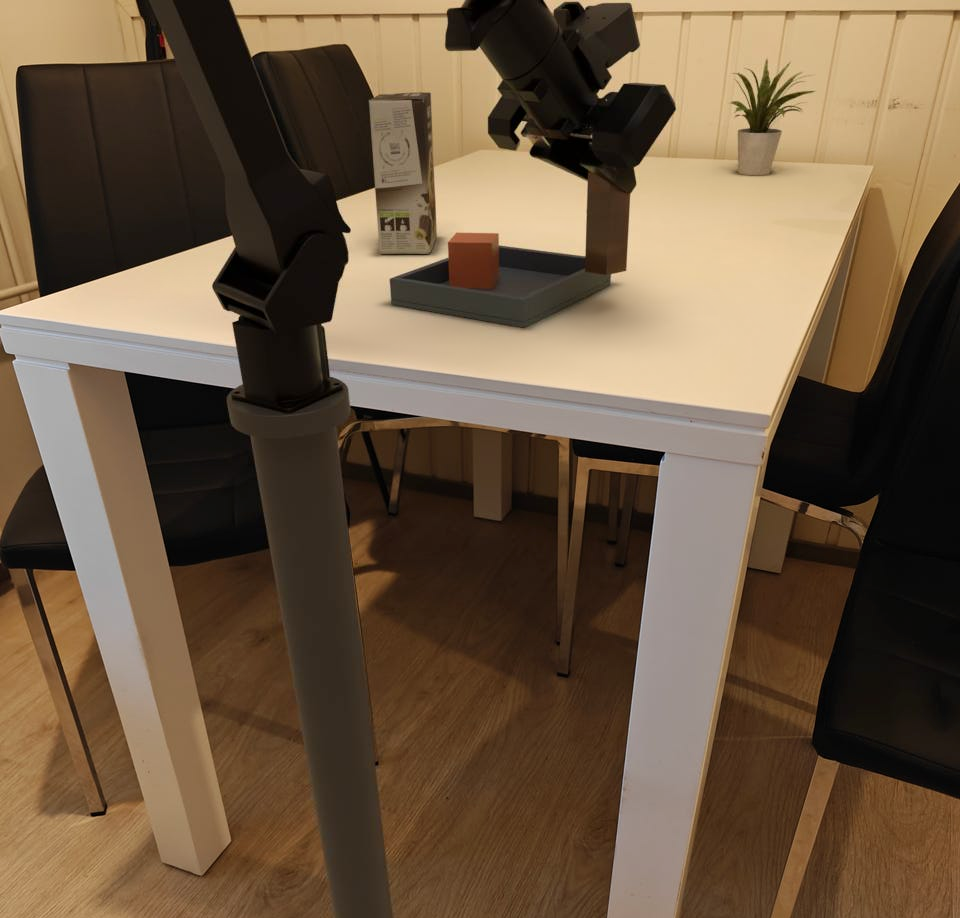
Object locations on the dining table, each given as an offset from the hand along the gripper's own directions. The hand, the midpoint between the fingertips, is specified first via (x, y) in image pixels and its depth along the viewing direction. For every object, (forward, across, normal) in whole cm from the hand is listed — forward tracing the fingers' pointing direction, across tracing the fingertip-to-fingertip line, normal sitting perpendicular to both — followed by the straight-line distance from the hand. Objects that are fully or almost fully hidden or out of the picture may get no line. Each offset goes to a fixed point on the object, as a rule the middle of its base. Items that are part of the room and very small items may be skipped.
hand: (620, 187), depth 84 cm
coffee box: (+6, +35, +9) cm, 37 cm away
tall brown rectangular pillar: (+4, 0, +6) cm, 7 cm away
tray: (+3, +10, +12) cm, 16 cm away
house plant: (+58, +43, -43) cm, 84 cm away
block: (+2, +14, +12) cm, 18 cm away
